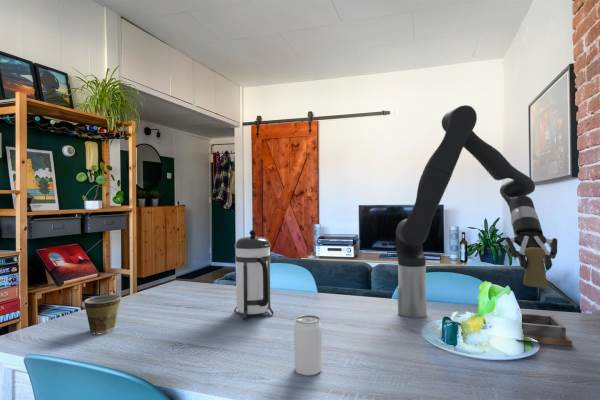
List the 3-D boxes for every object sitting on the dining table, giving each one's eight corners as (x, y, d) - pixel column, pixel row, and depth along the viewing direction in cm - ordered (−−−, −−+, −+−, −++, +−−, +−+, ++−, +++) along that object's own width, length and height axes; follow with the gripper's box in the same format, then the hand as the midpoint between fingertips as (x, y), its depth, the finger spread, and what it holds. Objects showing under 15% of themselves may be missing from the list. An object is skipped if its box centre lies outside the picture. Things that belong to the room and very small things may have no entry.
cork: (551, 287, 100) (551, 248, 100) (528, 287, 101) (527, 248, 101) (541, 283, 106) (541, 246, 106) (519, 282, 107) (519, 246, 107)
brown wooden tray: (516, 340, 99) (515, 324, 99) (506, 325, 111) (506, 310, 111) (571, 346, 95) (571, 329, 95) (555, 329, 107) (555, 314, 107)
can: (293, 364, 86) (293, 315, 86) (320, 363, 87) (319, 314, 87) (295, 377, 80) (295, 324, 80) (324, 375, 80) (323, 322, 80)
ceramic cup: (127, 327, 113) (127, 296, 113) (98, 338, 104) (98, 304, 104) (100, 322, 119) (100, 292, 119) (70, 332, 110) (70, 300, 110)
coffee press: (221, 319, 121) (221, 231, 121) (246, 306, 135) (245, 228, 136) (267, 325, 114) (266, 232, 114) (287, 310, 129) (286, 228, 129)
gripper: (501, 215, 113) (510, 258, 102) (554, 215, 108) (570, 261, 97) (498, 230, 118) (506, 273, 107) (549, 231, 113) (563, 276, 102)
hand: (536, 267), depth 102 cm, fingers closed on cork, 5 cm apart
